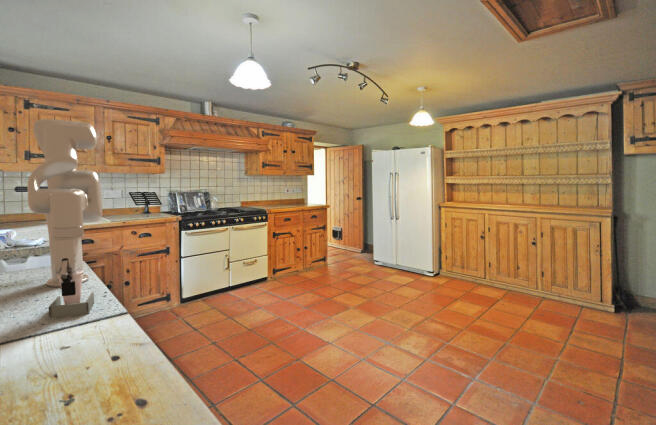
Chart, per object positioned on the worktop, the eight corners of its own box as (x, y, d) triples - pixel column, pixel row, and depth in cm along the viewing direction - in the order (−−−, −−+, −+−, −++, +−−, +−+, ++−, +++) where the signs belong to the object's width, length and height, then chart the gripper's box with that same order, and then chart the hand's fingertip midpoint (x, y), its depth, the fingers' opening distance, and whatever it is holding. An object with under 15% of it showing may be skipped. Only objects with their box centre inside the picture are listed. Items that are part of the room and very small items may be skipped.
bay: (58, 307, 104) (57, 296, 104) (94, 303, 108) (93, 292, 108) (49, 319, 96) (48, 307, 96) (88, 313, 100) (87, 302, 99)
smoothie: (71, 308, 98) (68, 261, 96) (53, 306, 99) (49, 260, 98) (90, 300, 104) (88, 256, 103) (73, 298, 106) (70, 255, 104)
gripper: (60, 228, 106) (64, 284, 108) (42, 238, 90) (47, 303, 92) (89, 227, 109) (92, 281, 111) (76, 236, 93) (80, 299, 95)
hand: (71, 291), depth 101 cm, fingers closed on smoothie, 6 cm apart
